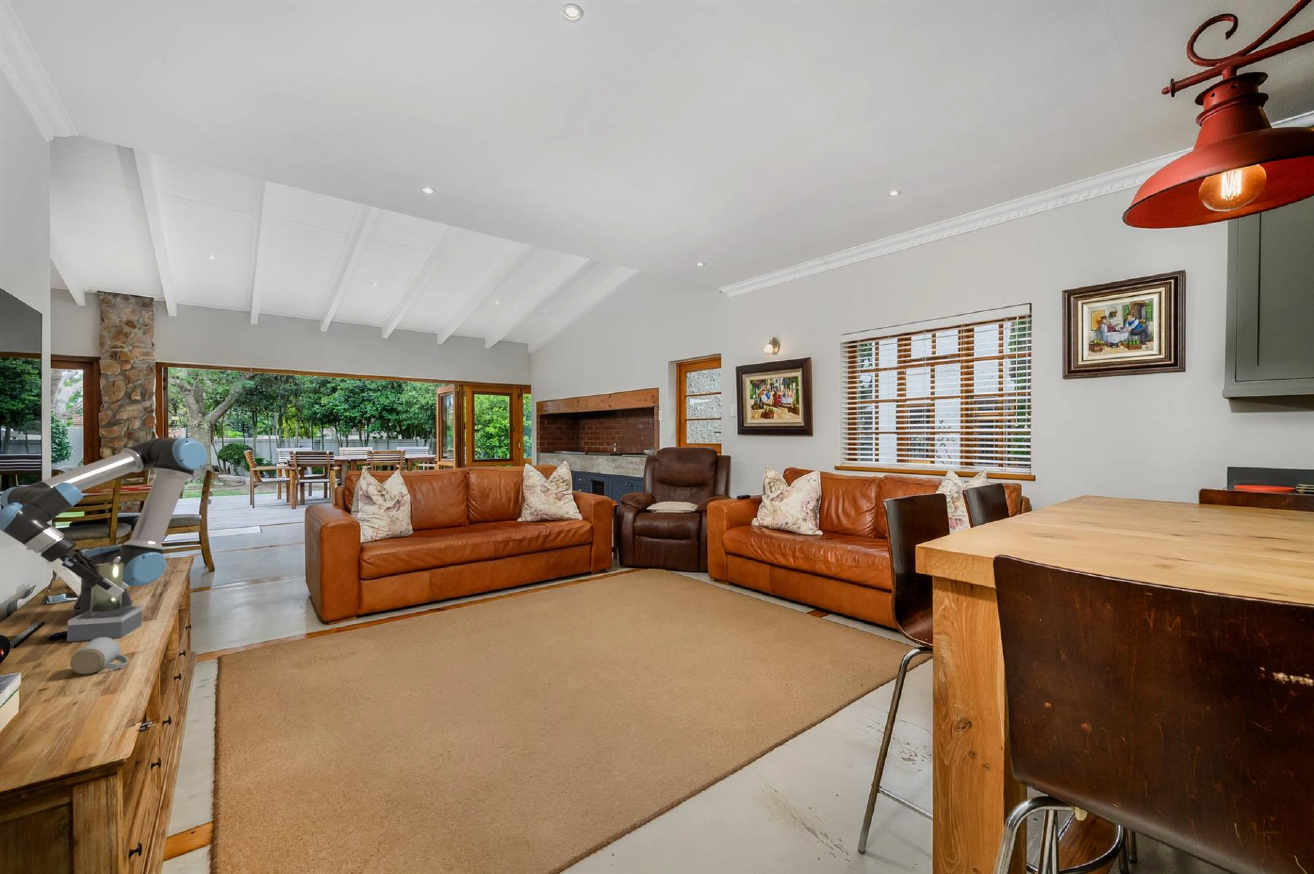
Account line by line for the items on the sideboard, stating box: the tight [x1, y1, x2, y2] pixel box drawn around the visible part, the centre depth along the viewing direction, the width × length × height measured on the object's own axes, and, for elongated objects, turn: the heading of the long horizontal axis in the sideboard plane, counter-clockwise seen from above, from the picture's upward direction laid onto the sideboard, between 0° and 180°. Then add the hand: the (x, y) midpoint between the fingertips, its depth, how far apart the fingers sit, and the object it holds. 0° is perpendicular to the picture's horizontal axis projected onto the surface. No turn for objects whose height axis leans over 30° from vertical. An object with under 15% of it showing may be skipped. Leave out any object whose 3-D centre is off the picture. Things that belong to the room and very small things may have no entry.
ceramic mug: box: [69, 637, 129, 676], centre depth 150 cm, size 11×8×8 cm
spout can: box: [90, 556, 124, 612], centre depth 177 cm, size 7×7×16 cm
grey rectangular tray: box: [66, 605, 143, 643], centre depth 178 cm, size 16×13×6 cm
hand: (122, 591), depth 179 cm, fingers closed on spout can, 7 cm apart
